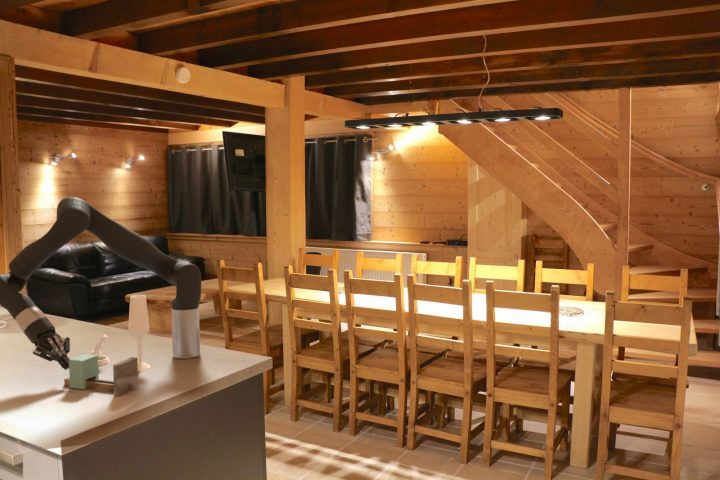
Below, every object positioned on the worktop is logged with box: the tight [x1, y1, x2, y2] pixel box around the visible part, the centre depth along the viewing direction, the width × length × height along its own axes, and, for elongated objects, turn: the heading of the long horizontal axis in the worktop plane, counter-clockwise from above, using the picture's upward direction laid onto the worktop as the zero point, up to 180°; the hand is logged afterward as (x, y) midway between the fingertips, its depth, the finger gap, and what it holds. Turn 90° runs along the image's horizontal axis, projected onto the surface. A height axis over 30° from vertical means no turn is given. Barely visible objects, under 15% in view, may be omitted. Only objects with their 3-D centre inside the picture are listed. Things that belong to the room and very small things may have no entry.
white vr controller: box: [89, 334, 111, 367], centre depth 198 cm, size 8×12×7 cm
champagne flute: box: [127, 294, 152, 372], centre depth 192 cm, size 7×7×24 cm
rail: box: [64, 356, 139, 397], centre depth 173 cm, size 22×8×9 cm, turn 73°
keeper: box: [68, 353, 99, 390], centre depth 175 cm, size 5×6×8 cm
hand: (69, 367), depth 176 cm, fingers closed
